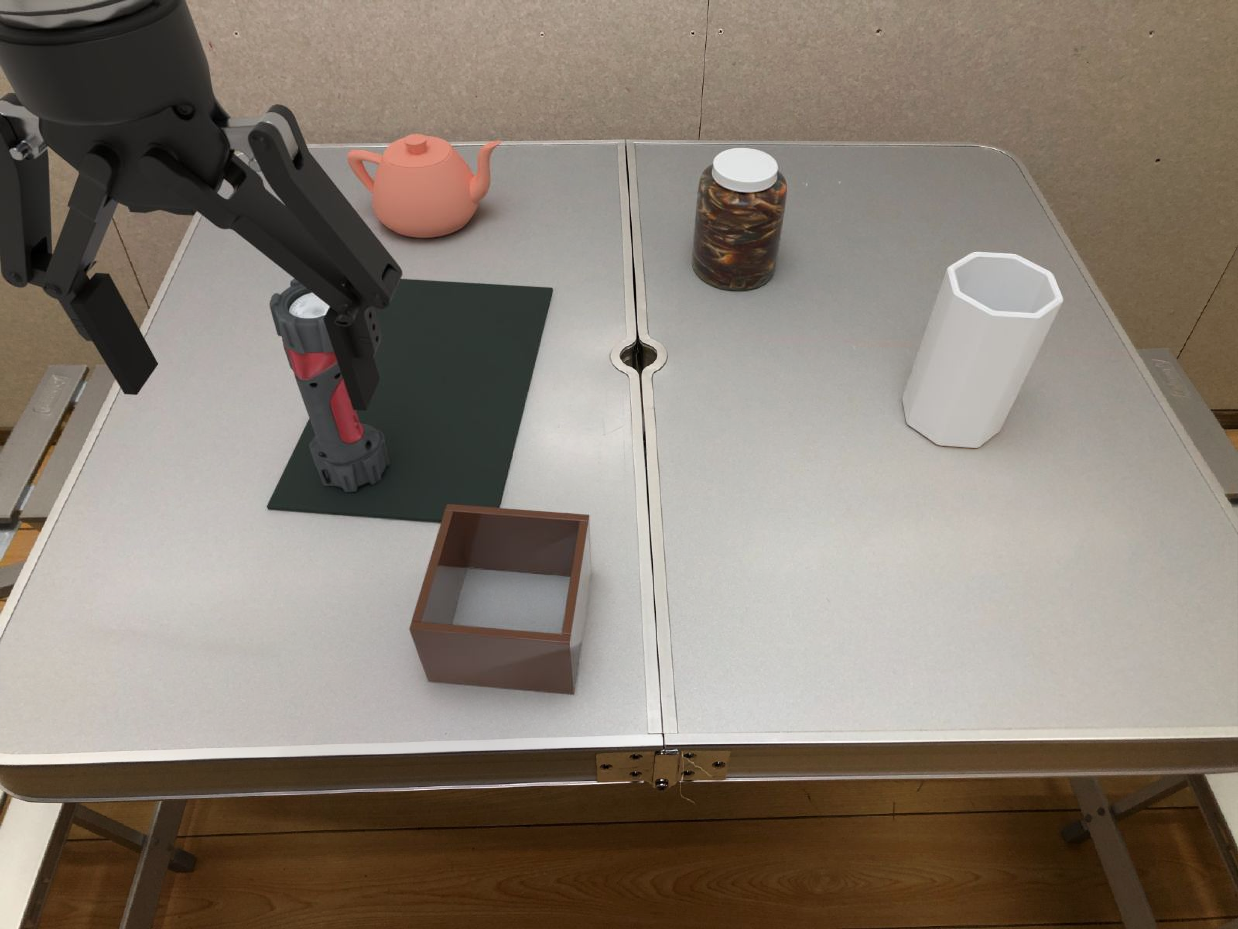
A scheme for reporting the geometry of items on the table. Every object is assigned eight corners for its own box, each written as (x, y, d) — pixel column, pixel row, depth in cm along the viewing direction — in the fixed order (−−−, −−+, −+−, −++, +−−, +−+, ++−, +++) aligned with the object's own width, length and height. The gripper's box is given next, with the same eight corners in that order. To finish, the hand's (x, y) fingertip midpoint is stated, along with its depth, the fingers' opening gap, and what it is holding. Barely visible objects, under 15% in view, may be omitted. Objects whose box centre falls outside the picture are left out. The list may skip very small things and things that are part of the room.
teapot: (515, 192, 129) (507, 113, 119) (502, 248, 119) (492, 167, 109) (374, 188, 129) (355, 110, 120) (348, 244, 119) (326, 163, 110)
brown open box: (427, 682, 74) (408, 629, 67) (460, 560, 83) (446, 503, 76) (574, 695, 73) (569, 643, 67) (592, 571, 82) (589, 514, 75)
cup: (914, 370, 101) (961, 238, 88) (1009, 401, 98) (1073, 268, 84) (888, 429, 95) (933, 295, 81) (988, 463, 91) (1054, 330, 77)
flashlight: (417, 454, 92) (371, 281, 75) (378, 506, 87) (319, 333, 70) (357, 435, 94) (299, 262, 76) (316, 484, 89) (243, 311, 72)
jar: (793, 264, 116) (811, 163, 105) (740, 302, 110) (754, 199, 99) (726, 231, 121) (737, 132, 110) (673, 266, 116) (679, 164, 104)
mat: (267, 509, 87) (266, 506, 87) (378, 280, 114) (377, 277, 113) (494, 527, 86) (494, 524, 85) (553, 290, 112) (552, 287, 112)
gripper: (411, -33, 35) (476, 357, 51) (-152, -51, 36) (83, 332, 52) (356, 42, 30) (448, 448, 46) (-293, 16, 31) (13, 417, 47)
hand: (253, 387), depth 49 cm, fingers open, 13 cm apart
